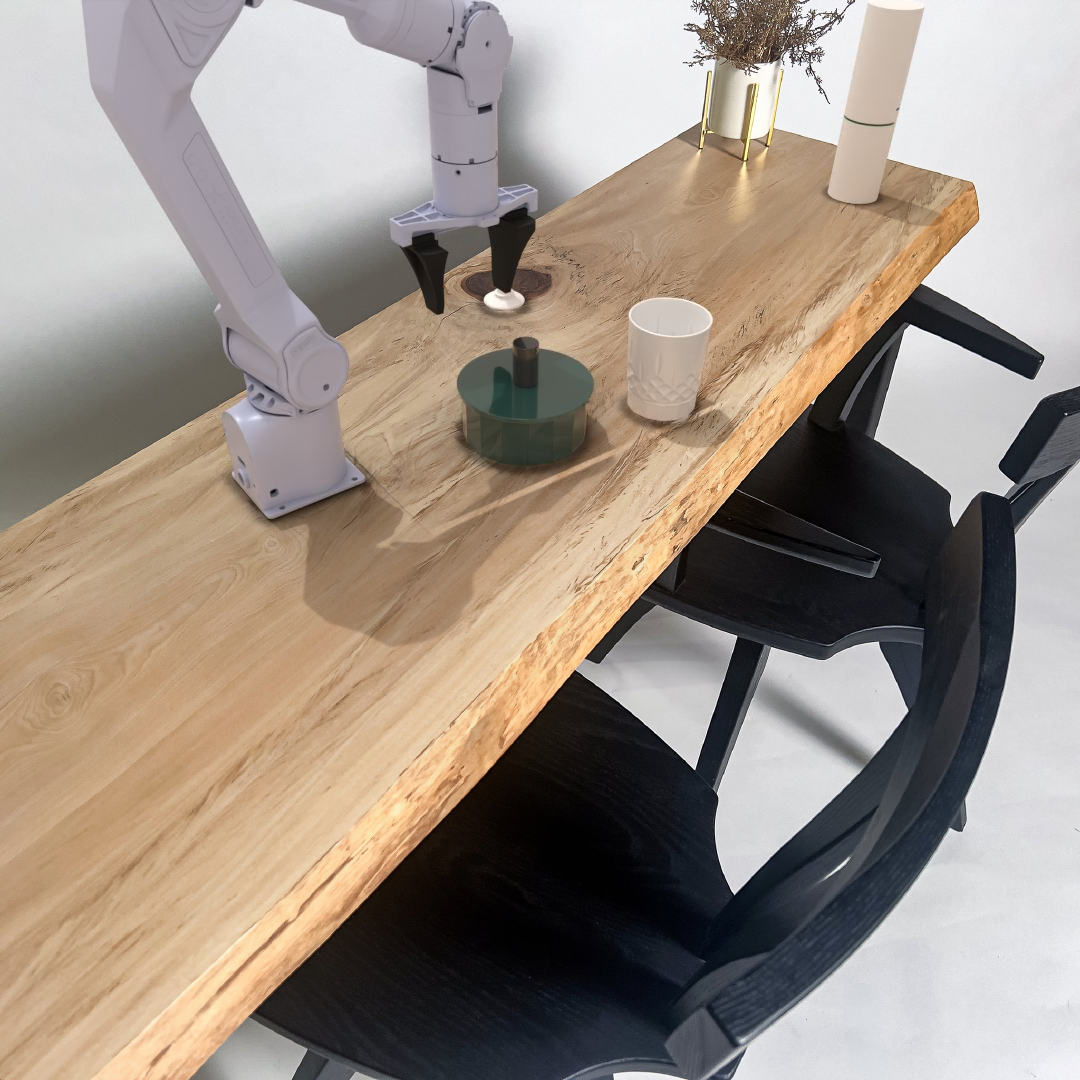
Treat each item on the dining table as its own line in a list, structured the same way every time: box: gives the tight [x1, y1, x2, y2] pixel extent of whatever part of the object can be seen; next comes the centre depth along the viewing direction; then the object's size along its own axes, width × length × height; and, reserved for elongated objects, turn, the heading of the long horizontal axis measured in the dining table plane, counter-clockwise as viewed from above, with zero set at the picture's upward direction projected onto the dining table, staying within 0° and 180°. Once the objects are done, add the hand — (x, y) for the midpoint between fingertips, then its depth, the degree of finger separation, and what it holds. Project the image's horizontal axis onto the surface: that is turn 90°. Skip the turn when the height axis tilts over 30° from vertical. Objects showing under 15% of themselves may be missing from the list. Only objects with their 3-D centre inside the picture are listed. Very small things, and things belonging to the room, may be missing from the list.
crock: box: [461, 400, 588, 467], centre depth 91 cm, size 12×12×5 cm
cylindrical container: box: [827, 0, 926, 205], centre depth 134 cm, size 7×7×25 cm
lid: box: [456, 335, 595, 424], centre depth 88 cm, size 13×13×5 cm
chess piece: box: [483, 288, 525, 311], centre depth 110 cm, size 5×5×10 cm
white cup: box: [626, 296, 714, 425], centre depth 94 cm, size 8×8×10 cm
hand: (469, 299), depth 92 cm, fingers open, 7 cm apart
